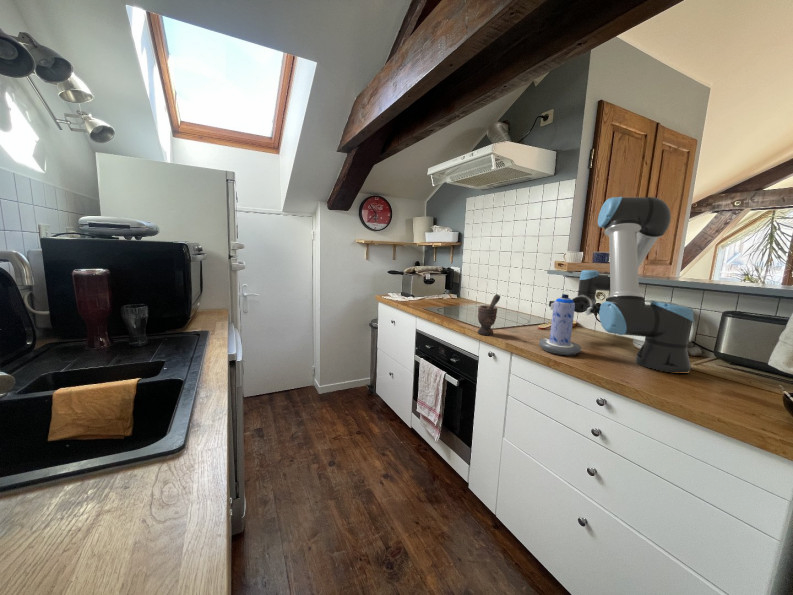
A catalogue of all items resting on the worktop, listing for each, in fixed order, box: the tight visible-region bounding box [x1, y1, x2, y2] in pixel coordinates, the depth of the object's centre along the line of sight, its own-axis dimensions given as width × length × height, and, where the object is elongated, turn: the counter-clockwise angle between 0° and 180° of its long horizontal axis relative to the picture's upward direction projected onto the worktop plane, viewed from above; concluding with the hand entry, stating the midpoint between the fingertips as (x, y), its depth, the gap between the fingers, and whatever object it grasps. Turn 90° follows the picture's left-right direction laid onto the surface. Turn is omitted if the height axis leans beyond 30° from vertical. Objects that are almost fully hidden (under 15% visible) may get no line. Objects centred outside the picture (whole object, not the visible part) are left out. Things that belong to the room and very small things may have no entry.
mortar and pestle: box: [476, 294, 501, 336], centre depth 144 cm, size 12×9×20 cm
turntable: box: [538, 337, 582, 354], centre depth 124 cm, size 15×15×2 cm
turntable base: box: [542, 347, 577, 357], centre depth 125 cm, size 12×12×1 cm
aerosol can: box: [549, 293, 575, 346], centre depth 123 cm, size 8×8×20 cm
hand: (569, 309), depth 129 cm, fingers open, 13 cm apart
